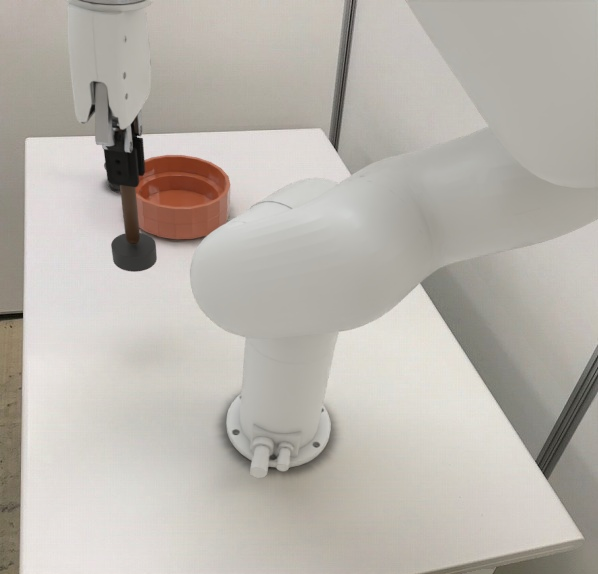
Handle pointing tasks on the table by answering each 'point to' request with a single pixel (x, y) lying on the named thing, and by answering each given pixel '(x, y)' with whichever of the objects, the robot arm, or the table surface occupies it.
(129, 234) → the plunger
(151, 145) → the table surface
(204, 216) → the bowl
